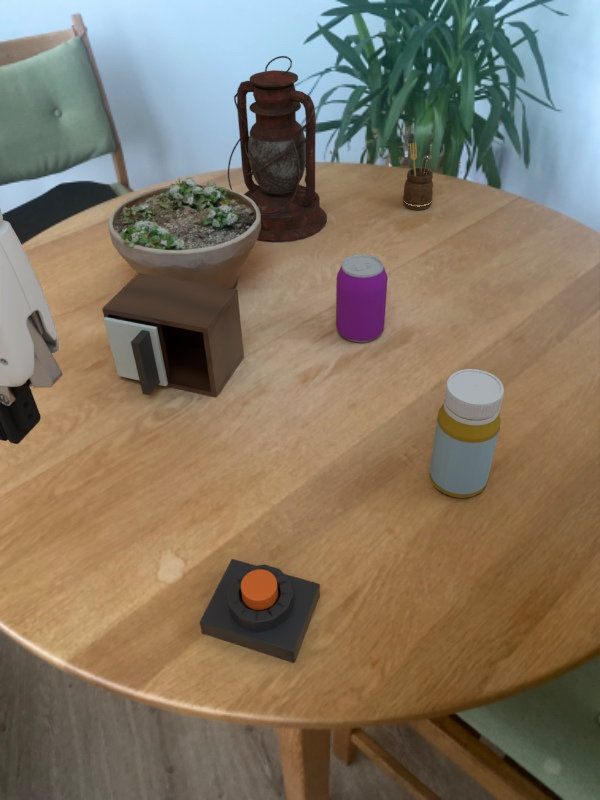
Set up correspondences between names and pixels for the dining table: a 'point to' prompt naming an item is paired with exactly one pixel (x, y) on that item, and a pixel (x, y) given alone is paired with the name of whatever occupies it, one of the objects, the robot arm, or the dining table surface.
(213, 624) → the switch box
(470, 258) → the dining table surface
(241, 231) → the planter
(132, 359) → the door
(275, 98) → the lantern
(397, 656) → the dining table surface
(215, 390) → the cabinet
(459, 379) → the bottle
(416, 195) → the utensil holder
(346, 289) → the beverage can
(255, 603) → the button
